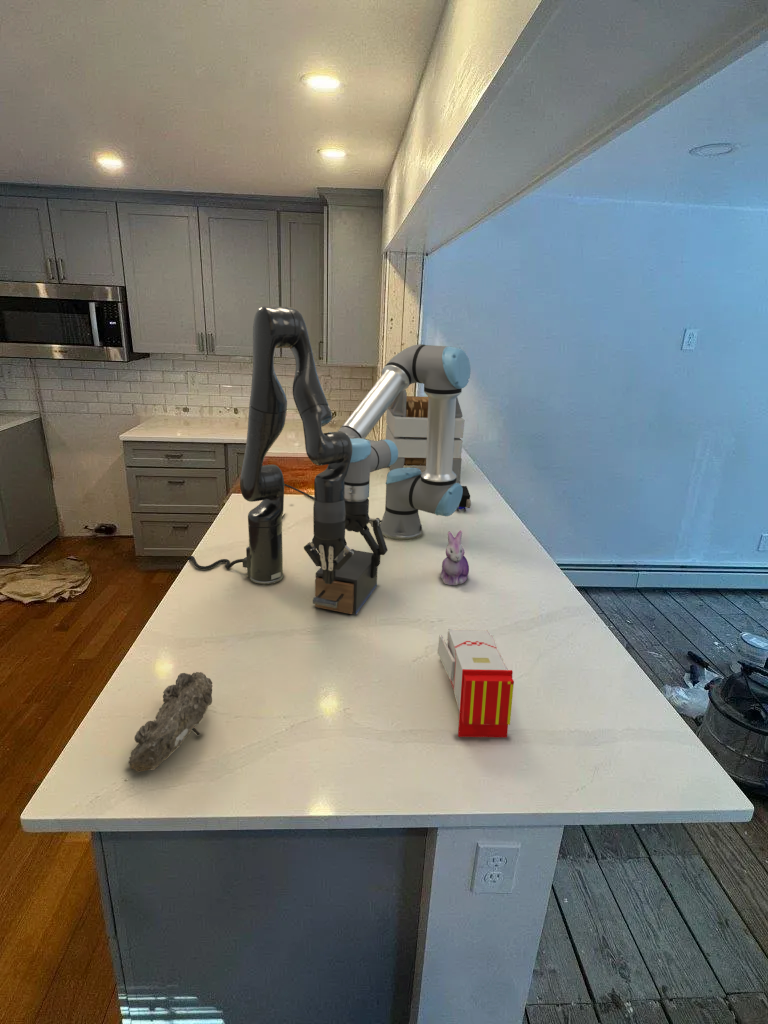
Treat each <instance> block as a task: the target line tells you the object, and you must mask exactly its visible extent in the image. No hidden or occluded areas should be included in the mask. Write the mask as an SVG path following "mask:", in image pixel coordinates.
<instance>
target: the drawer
mask: <svg viewBox="0 0 768 1024" xmlns="http://www.w3.org/2000/svg"><path fill="white" fill-rule="evenodd" d="M353 602H354V583H352V582H346V581H341V580H336V579H335V580H334V581H333V582H332V583H331V584H326V583H325V581H323V577H322V578H316V577H315V579H314V597H313V599H312V604H314V608H318V609H322V610H323V609H324V610H327V611H333V612H338V613H344V614H349V615H353V614H352V613H353Z"/></svg>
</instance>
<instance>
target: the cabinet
mask: <svg viewBox="0 0 768 1024" xmlns="http://www.w3.org/2000/svg"><path fill="white" fill-rule="evenodd" d="M354 550H355V553H354V554H353V555H352V556H351V557H350V558H349V559H348V561H347V562H346V563H345V564H344V565H343V566H342V567H341V568H340V569H339V570H336V578H335V579H336V580H341V581H346V582H352V583H354V602H353V613H352V614H351V615H354V616H356V615H358V613H359V612H360V611H361V609H362V607H363V606H364V605H365V603H366V602H367V601H368V599H369V598H370V596H371V595H372V594H373V592H374V591H375V589H377V586H378V568H379V566H378V567H377V571H376V575H375V577H374V578H371V556H372V555H373V554H374V553H373V552H368V551H364V550H363V551H362V550H357V549H354ZM343 553H344V550H343V551H342V552H341V553H340V554H339V555H338V559H337V563H338V562H340V561H341V560H342V559H343V557H344V556H343ZM322 577H323V569H322V568H321V567H320V568H319V569H318V570H316V572H315V579H316V578H322Z"/></svg>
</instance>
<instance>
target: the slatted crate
mask: <svg viewBox="0 0 768 1024" xmlns="http://www.w3.org/2000/svg"><path fill="white" fill-rule="evenodd" d="M407 394H408V393H407V389H406V390H403V391H401V392H400V393H399V394H398V396H397V397H396V398H395V400H394V401H393V402H392V404H391V405H390V406H389V407H388V409H387V410H386V411H385V414H386V415H385V423H386V428H385V438H384V440H385V439H388V440H391V441H392V442H394V443H395V445H396V446H397V449H398V458H397V460H396V462H395V463H394V464H392V465H390V466H388V467H387V468H389V471H391V470H394V469H398V468H405V466H406V467H407V466H411V467H412V466H413V467H415V466H416V467H417V466H418V467H426V452H427V425H428V399H429V397H428V396H415V395H414V396H413V395H412V396H411V395H407ZM464 429H465V419H464V418H463V411H462V408H461V405H460V402H459V398H458V397H457V398H456V411H455V429H454V447H453V464H452V471H453V472H454V473H455V474H456V483H459V484H460V483H461V472H462V461H463V460H462V453H463V442H464V441H463V440H462V439H463V438H464V431H465V430H464Z"/></svg>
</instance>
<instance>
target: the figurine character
mask: <svg viewBox="0 0 768 1024" xmlns="http://www.w3.org/2000/svg"><path fill="white" fill-rule="evenodd" d="M461 486H462V488H463V493H462V498H461V501H460V504H459V506H458V507H457V509H456V511H457V512H460V510H463V511H464V513H466V512H467V509H470V508H471V505H472V504H471V501H472V500H471V494H470V491H469V488H468V486H467V485H461ZM466 508H467V509H466Z"/></svg>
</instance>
